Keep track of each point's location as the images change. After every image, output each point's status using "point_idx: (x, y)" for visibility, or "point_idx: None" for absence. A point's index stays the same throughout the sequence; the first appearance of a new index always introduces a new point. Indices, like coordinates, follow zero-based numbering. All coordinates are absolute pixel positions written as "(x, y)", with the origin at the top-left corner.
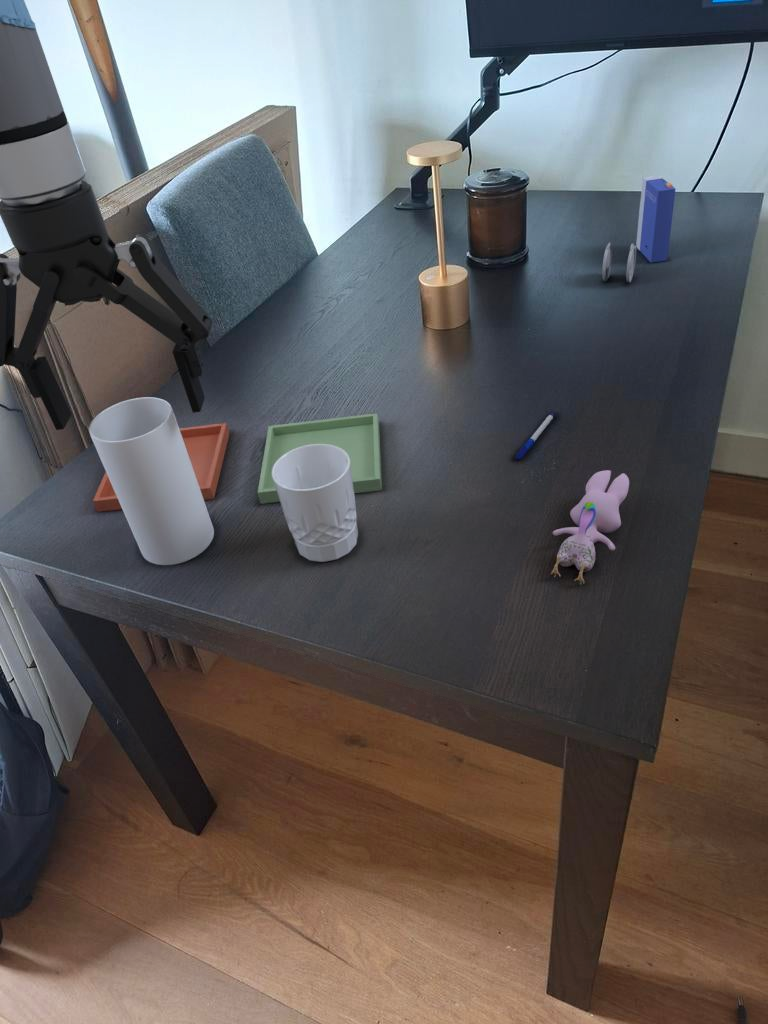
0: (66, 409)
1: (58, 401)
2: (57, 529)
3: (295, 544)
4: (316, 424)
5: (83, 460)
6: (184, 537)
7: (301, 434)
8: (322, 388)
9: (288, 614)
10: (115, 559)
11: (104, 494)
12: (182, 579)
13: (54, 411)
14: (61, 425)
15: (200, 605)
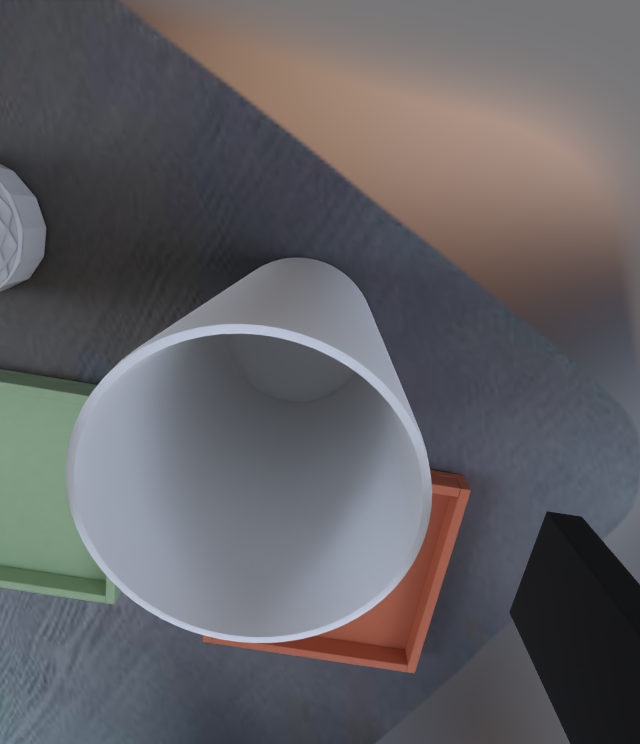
0: (535, 626)
1: (583, 659)
2: (543, 449)
3: (41, 223)
4: (18, 579)
5: (492, 635)
6: (256, 270)
7: (59, 568)
8: (36, 690)
9: (48, 5)
10: (425, 316)
11: (448, 512)
12: (284, 204)
13: (606, 585)
14: (559, 525)
15: (241, 103)
